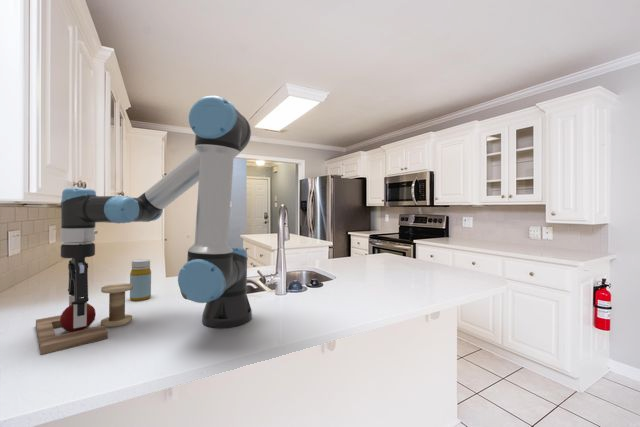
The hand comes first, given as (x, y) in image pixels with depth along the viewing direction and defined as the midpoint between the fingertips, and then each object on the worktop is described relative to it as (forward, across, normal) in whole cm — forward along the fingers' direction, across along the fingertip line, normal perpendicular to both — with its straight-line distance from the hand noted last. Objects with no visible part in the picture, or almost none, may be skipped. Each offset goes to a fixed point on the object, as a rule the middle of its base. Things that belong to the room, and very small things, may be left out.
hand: (77, 321), depth 83 cm
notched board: (+3, 0, +2) cm, 3 cm away
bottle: (+3, +22, -22) cm, 31 cm away
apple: (+3, 0, 0) cm, 3 cm away
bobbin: (+3, 0, -10) cm, 10 cm away
